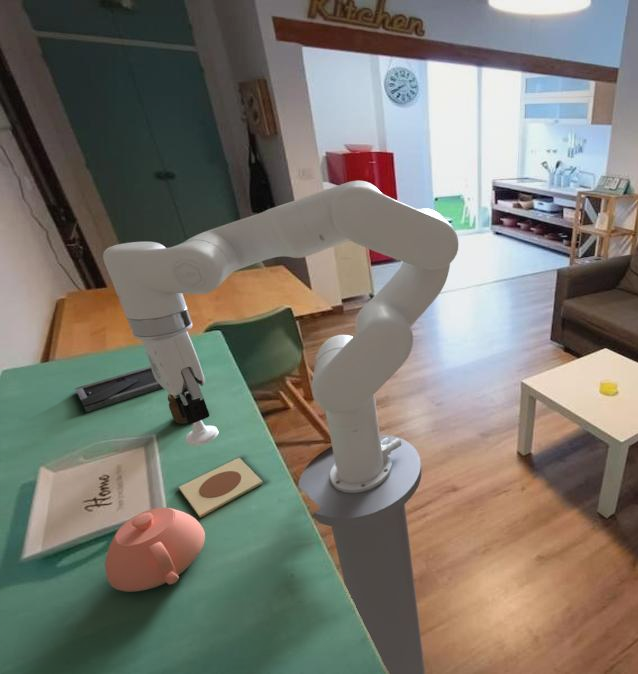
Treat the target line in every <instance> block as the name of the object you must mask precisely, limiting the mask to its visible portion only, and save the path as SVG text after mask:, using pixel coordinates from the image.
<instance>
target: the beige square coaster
mask: <svg viewBox="0 0 638 674" xmlns="http://www.w3.org/2000/svg"><path fill="white" fill-rule="evenodd" d="M263 483H264V482H263V480H262V479H261V478H260V477H259V476H258V475H257V474H256V473H255V472H254V471H253V470H252V468H250V467H249V466H248V465H247V464H246V463H245V461H243V460H242V459H241V458H240V457H237V458H235V459H233V460H231V461H229V462H227V463H225V464H223V465H221V466H219V467H217V468H215V469H212V470H210V471H208V472H206V473H204V474H201V475H200V476H198V477H196V478H194V479H192V480H190V481H188V482H185V483H183V484H182V485H179V486H178V490H179V491H180V492H181V494H182V495H183V497H184V498H185V499H186V501H187V502H188V503H189V505H190V506H191V508H192V509H193V510H194V512H195V513H196V515H197V516H198V517H199V519H200V518H203V517H205V516H206V515H208V514H210V513H211V512H213V511H215V510H217V509H218V508H220V507H222V506H225V505H226V504H228V503H230V502H231V501H233V500H236V499H237V498H239V497H240V496H242V495H244V494H246V493H248V492H250V491H252V490H253V489H255V488H257V487H259V486H261V485H263Z"/></svg>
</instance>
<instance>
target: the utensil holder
mask: <svg viewBox="0 0 638 674" xmlns="http://www.w3.org/2000/svg"><path fill="white" fill-rule="evenodd" d="M178 397H179V396H178ZM178 397H175V396H174V395H171V394H169V393H168V395H167V401H168V408H169V411H170V413H171V416H172V418H173V421H174V422H175V423H177V424H182V425H183V424H184V425H185V424H188V422H187V420H186V418H183V417H182V416H181V414H180V411H179V409H178V406H177V403H176V401H175V398H178Z"/></svg>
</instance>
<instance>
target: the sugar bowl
mask: <svg viewBox="0 0 638 674" xmlns="http://www.w3.org/2000/svg"><path fill="white" fill-rule="evenodd" d="M205 541H206V532H205V530H204V528H203V526H202V525H201V523H200V522H199V521H198V520H197V519H196V518H195V517H193V516H192V515H190V514H189V513H187V512H184V511H182V510H179V509H175V508H171V507H156V508H151V509H148V510H144V511H142V512H140V513H138V514H136V515H135V516H133V517H131V518H130V519H128V520H127V521H126V522H125V523H123V524H122V525H121V526H120V528H118V529H117V530H116V532H115V534H114V536H113V538H112V539H111V542H110V543H109V547H108V549H107V553H106V556H105V563H104V569H105V575H106V579H107V581H108V583H109V585H110V586H111V587H113V588H114V589H116V590H118V591H121V592H130V593H131V592H143V591H148V590H151V589H154V588H157V587H159V586H163V585H164V584H168V585H173V584H175V583H177V582H178V580H179V578H180V576H179V575H181V574H182V573H184V571H186V570H187V569H188V568H189V567H190V566H191V565H192V564H193V562H194V561H195V560H196V559H197V557H198V556H199V554H200V553H201V551H202V549H203V547H204V545H205Z"/></svg>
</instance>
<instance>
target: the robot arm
mask: <svg viewBox="0 0 638 674" xmlns="http://www.w3.org/2000/svg"><path fill="white" fill-rule="evenodd" d="M347 242H348V243H349V242H351V243H354V244H356V245H359V246H361V247H363V248H365V249H368V250H371V251H373V252H376V253H378V254H381V255H383V256H386V257H389V258H392V259H395V260H397V261H400V262H402V263H401V266H400V267H399V268H398V269H397V271H396V272H395V273H394V274H393V276H392V277H391V278H390V279H389V281H387V283H386V284H385V285H383V287H382V288H381V289H380V290H379V291H378V292H377V293H376V294H375V295H374V296H372V298H371V299H370V300H369V301H368V302H367V303H365V304H364V305H363V307H361V309H359V311H358V313H357V315H356V319H355V334H354V335H353V336H352V335H349V334H337V335H333V336H332V337H329V338H328V339H326V340H325V341H324V342H323V343H322V345H321V346H320V347H319V348H318V350H317V353H316V356H315V361H314V367H313V375H312V380H311V393H312V396H313V400H314V401H315V403H316V404H317V405H318V406H319V407H320V408H321V409H323V410H324V413H325V420H326V425H327V429H328V434H329V439H330V443H331V446H332V449H333V454H334V459H335V464H334V465H333V467H332V469H331V471H330V480H331V483H332V485H333V486H334V487H335V488H336V489H338V490H340V491H342V492H347V493H358V492H364V491H367V490H370V489H372V488H374V487H376V486H378V485H380V484H381V483H382V482H383V481H384V480H385V479H386V478H387V477H388V476H389V474H390V472H391V469H392V463H391V459H390V457H389V455H390V454H391V451H392V450H395V449H397V448H398V447H400V446H401V445H402V444H401V441H400V440H399V439H398V438H399V437H398V438H397V439H395V440H394V441H392V442H390V441H389V439H388V438H385V439H383V440H382V441H381V438H380V435H381V432H380V426H379V417H378V411H377V410H378V409H377V401H376V395H375V394H376V393H377V392H378V391H379V390H380V389H381V388H382V387H383V386H384V385H385V384H386V383H387V382H388V381H389V380H390V379H391V378H392V377H393V376H395V374H396V373H397V372H398V371H399V369H400V368H402V366H403V365H404V364H405V362H407V360H408V358H409V356H410V355H411V353H412V350H413V346H414V334H413V333H414V332H413V330H412V327H413V326H414V324H415V323H416V322H417V321H418V319H419V318H420V317H422V315H423V314H424V313H425V312H426V311H427V310H428V309H429V307H430V306H431V305H432V304H433V303H434V302H435V300H436V299H437V298H438V296H439V295H440V294H441V292H442V290H443V288H444V287H445V284H446V282H447V279H448V276H449V272H450V268H451V267H450V266H451V263H452V262H453V261H454V260H455V259H456V256H457V255H458V252H459V238H458V234H457V232H456V230H455V228H454V227H453V225H451V224H450V222H449V221H448V220H446V219H445V218H444V216H442V215H441V214H440V213H439V212H437V211H435V210H433V209H430V208H415V207H413V206H411V205H408V204H405V203H403V202H401V201H399V200H397V199H395V198H392V197H390V196H388V195H386V194H384V193H383V192H381V191H380V190H379V189H378V187H376V186H375V185H374V184H372V183H371V182H368V181H365V180H352V181H348V182H345V183H342V184H338V185H335V186H332V187H330V188H326V189H324V190H321V191H318V192H315V193H313V194H312V193H311V194H310V195H307V196H306V195H305V196H303V197H301V198H298V199H295V200H292V201H289V202H286V203H283V204H280V205H277V206H273V207H271V208H268V209H266V210H264V211H262V212H259V213H257V214H253V215H251V216H247V217H244V218H241V219H238V220H234V221H232V222H229V223H226V224H224V225H220V226H217V227H214V228H212V229H209V230H206V231H203V232H201V233H198V234H196V235H194V236H192V237H190V238H188V239H186V240H185V241H183V242H182V243H179V244H176V245H174V246H170V247H166V246H164V245H163V244H161V243H160V242H156V241H132V242H124V243H118V244H114V245H111V246H109V247H107V248H106V249H105V250H104V251H103V253H102V261H103V263H104V266H105V268H106V271H107V273H108V275H109V279H110V280H111V283H112V285H113V288H114V290H115V293H116V295H117V298H118V301H119V303H120V305H121V308H122V310H123V312H124V315H125V317H126V320H127V322H128V325H129V327H130V330H131V333H132V335H133V338H135V339H136V340H140V341H141V342H142V345H143V348H144V352H145V355H146V358H147V360H148V363H149V367H150V366H151V369H152V372H153V375H154V378H155V379H156V381H157V382H158V383H159V384H160V385H161V386H162V387H163V388H162V389H163V390H165V391H166V392H167V393H168V395H169V394H171V395H174V396H175V397H178V396H179V397H178V398H175V401H176V403H177V406H178V409H179V411H180V414H181V416H182V417H183V418H186V420H187V422H188V423H187V424H188V425H193V423H195V422H198V421H200V420H202V421H203V420H205V419H207V418H209V417H210V412H209V410H208V407H207V404H206V401H205V398H204V395H203V394H202V390H201V388H200V386H201V387H203V386H204V385H205V384H206V379H205V375H204V371H203V369H202V365H201V363H200V360H199V357H198V354H197V351H196V348H195V346H194V344H193V341H192V339H191V337H190V334H189V332H188V331H189V330H190V329H192V328H193V326H194V325H193V321H192V318H191V316H190V313H189V308H188V306H187V303H186V300H185V297H184V295H203V294H207V293H210V292H213V291H215V290H217V289H218V288H219V287H220V286H221V285H222V284H223V283H224V282H225V280H226V279H227V278H229V276H230V275H231V274H232V273H234V272H236V271H238V270H241V269H244V268H246V267H249V266H252V265H254V264H255V265H256V264H258V263H261V262H264V261H267V260H271V259H273V258H279V257H281V258H282V257H287V258H294V259H301V258H302V259H303V258H306V257H310V256H312V255H314V254H317V253H320V252H322V251H324V250H327V249H330V248H333V247H336V246H338V245H341V244H344V243H347ZM187 391H189V393H187V394H186V396H185V393H184V392H187ZM389 442H390V443H389ZM388 443H389V444H388ZM386 444H388V445H386Z"/></svg>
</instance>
